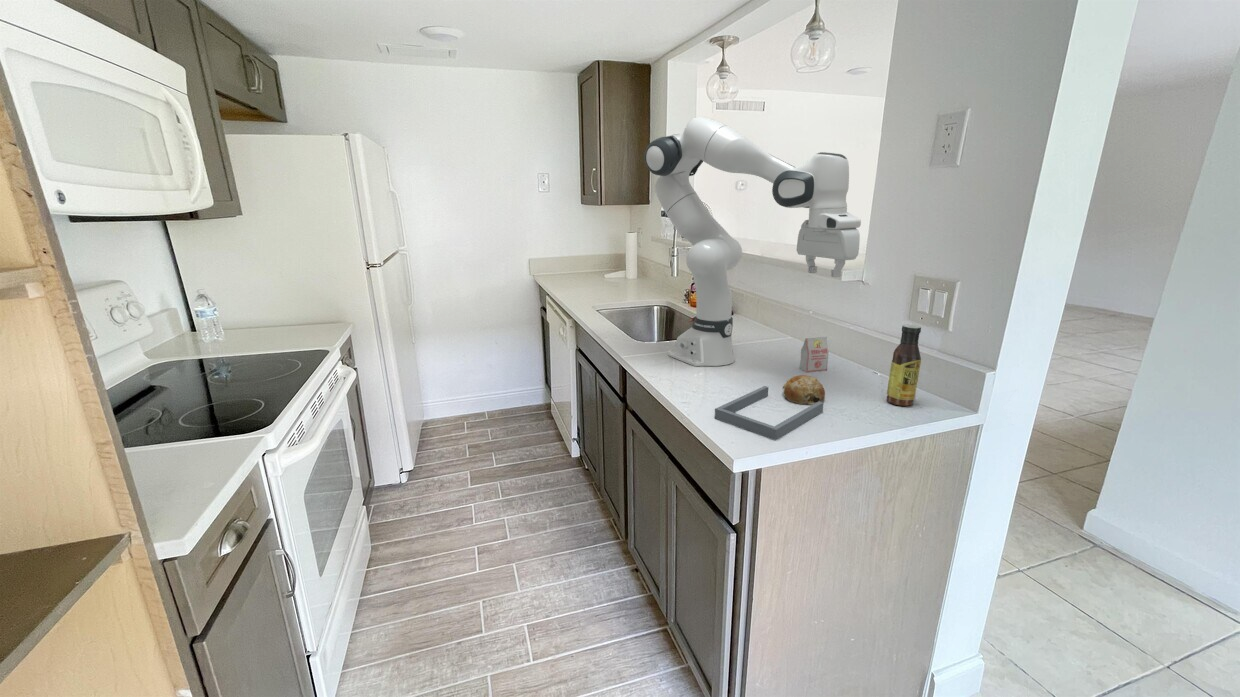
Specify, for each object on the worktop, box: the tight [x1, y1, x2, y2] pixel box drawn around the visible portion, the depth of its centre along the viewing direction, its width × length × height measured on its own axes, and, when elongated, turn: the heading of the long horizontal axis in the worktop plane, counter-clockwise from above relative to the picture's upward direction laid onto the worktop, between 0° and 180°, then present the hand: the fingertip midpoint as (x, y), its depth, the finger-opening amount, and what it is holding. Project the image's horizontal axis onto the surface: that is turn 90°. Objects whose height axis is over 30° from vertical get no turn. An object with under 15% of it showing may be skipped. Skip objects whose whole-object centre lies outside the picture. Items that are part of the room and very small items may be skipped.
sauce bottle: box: [886, 324, 922, 407], centre depth 126 cm, size 7×6×20 cm
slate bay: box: [714, 385, 825, 441], centre depth 123 cm, size 16×21×2 cm
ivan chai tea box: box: [799, 336, 830, 373], centre depth 153 cm, size 4×7×10 cm, turn 100°
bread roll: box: [781, 374, 826, 406], centre depth 132 cm, size 10×10×8 cm
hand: (823, 275), depth 132 cm, fingers open, 8 cm apart
